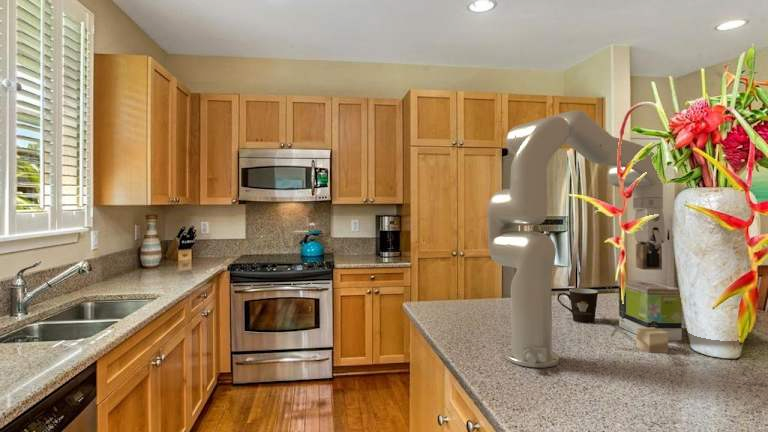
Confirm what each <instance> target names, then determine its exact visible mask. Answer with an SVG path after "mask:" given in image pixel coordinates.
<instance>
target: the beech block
mask: <svg viewBox="0 0 768 432" xmlns="http://www.w3.org/2000/svg"><path fill="white" fill-rule="evenodd" d="M635 335H636V336H635V337H636V339H635V341H636V346H635V347H637V348H639V349H641V350H644V351H645V352H646V353H647V352H648V353H649V354H650V353H668V352H669V341H668V333H667V332H665V331H662V330H660V329H657V328H654V327H651V328H636V334H635Z"/></svg>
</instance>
